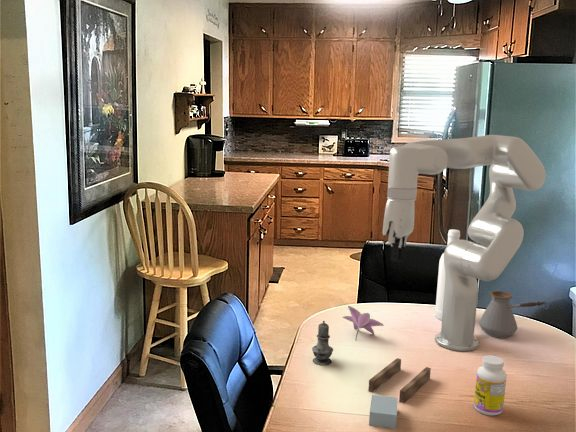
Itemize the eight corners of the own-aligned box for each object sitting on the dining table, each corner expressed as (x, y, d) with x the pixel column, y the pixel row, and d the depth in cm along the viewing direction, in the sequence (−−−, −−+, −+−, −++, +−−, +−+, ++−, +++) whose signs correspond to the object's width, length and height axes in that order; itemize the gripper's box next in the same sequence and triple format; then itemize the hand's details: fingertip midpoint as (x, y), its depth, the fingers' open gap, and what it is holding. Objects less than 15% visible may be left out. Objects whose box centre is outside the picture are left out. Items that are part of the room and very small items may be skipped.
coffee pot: (470, 330, 191) (474, 285, 188) (493, 323, 197) (498, 279, 194) (529, 355, 174) (535, 306, 171) (553, 347, 180) (559, 299, 177)
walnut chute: (396, 368, 164) (397, 358, 163) (429, 378, 158) (430, 368, 158) (368, 391, 151) (369, 380, 150) (403, 403, 145) (404, 391, 145)
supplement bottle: (469, 402, 147) (474, 353, 144) (495, 402, 147) (500, 353, 145) (480, 417, 140) (485, 366, 137) (507, 416, 141) (513, 365, 138)
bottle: (457, 323, 196) (466, 234, 190) (433, 319, 199) (440, 231, 193) (460, 315, 204) (467, 229, 197) (436, 311, 206) (443, 226, 200)
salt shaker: (331, 367, 163) (333, 325, 161) (309, 364, 165) (311, 323, 162) (334, 357, 169) (335, 317, 167) (313, 355, 170) (314, 315, 168)
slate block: (371, 408, 143) (371, 394, 143) (396, 411, 142) (397, 397, 142) (368, 426, 136) (369, 411, 135) (395, 429, 135) (396, 415, 134)
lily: (386, 345, 180) (390, 314, 183) (357, 338, 174) (362, 305, 177) (358, 344, 190) (363, 314, 193) (330, 336, 184) (335, 305, 187)
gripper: (401, 188, 166) (396, 252, 170) (375, 195, 154) (371, 264, 158) (426, 191, 162) (421, 257, 166) (402, 199, 150) (398, 270, 154)
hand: (397, 260), depth 162 cm, fingers closed
